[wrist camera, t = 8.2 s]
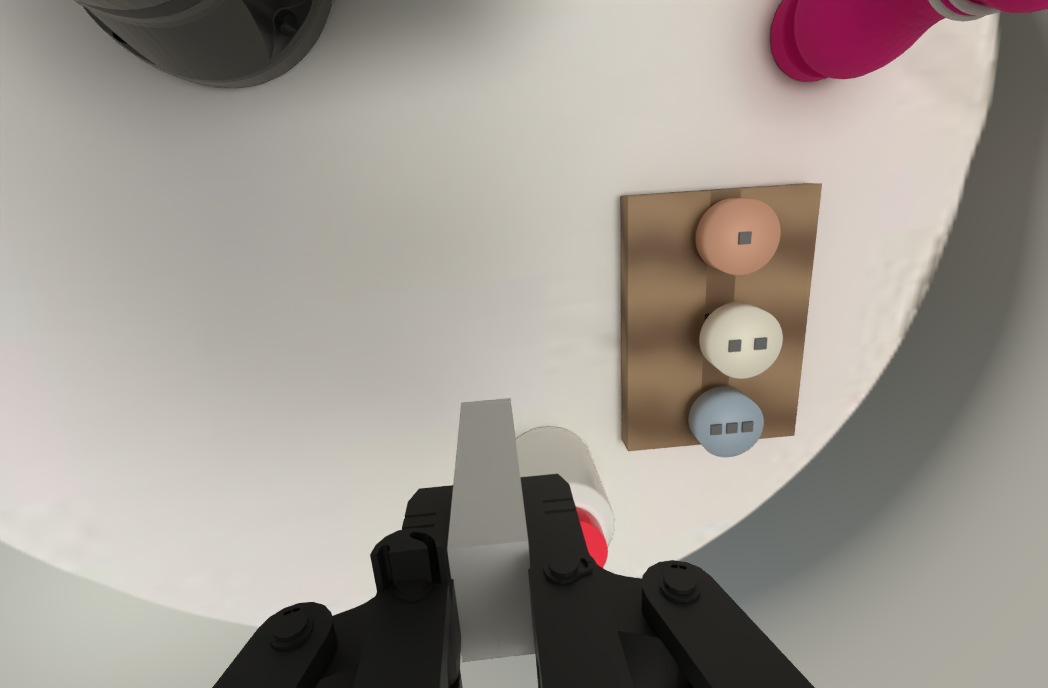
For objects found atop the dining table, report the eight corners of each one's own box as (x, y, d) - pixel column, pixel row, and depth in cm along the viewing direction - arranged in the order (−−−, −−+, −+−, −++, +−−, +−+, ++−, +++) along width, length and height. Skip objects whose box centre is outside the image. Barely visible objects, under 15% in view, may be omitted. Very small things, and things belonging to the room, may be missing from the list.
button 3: (679, 378, 42) (701, 400, 38) (739, 373, 42) (767, 394, 38) (677, 434, 43) (698, 461, 39) (735, 428, 44) (762, 455, 39)
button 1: (685, 199, 37) (710, 201, 33) (752, 194, 38) (785, 196, 34) (682, 267, 39) (706, 278, 35) (747, 263, 39) (778, 272, 35)
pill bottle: (607, 478, 45) (644, 568, 35) (531, 520, 46) (545, 620, 35) (564, 410, 43) (590, 484, 32) (484, 455, 44) (485, 542, 33)
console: (620, 195, 38) (628, 196, 36) (805, 183, 39) (821, 183, 37) (621, 439, 44) (628, 451, 42) (781, 424, 45) (794, 435, 43)
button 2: (688, 297, 38) (714, 312, 34) (754, 292, 39) (787, 306, 34) (686, 361, 40) (710, 382, 36) (749, 356, 40) (780, 376, 36)
